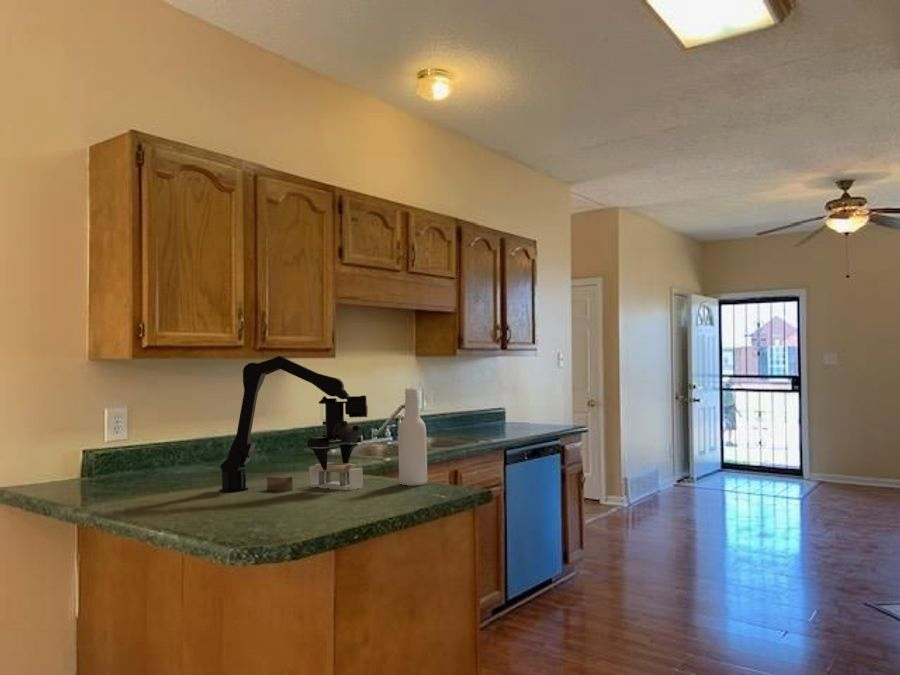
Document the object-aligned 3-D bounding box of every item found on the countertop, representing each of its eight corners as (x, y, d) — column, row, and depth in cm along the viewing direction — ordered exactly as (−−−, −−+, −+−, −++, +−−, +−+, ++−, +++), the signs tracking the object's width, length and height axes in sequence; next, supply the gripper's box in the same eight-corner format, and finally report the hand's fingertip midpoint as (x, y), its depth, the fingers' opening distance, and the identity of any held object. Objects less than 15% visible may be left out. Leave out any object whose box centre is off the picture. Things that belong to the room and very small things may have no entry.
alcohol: (395, 483, 219) (393, 388, 221) (420, 481, 223) (418, 388, 225) (406, 487, 211) (404, 388, 213) (432, 484, 215) (429, 388, 217)
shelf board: (343, 472, 210) (343, 466, 210) (314, 471, 216) (314, 464, 217) (356, 470, 215) (356, 464, 215) (328, 468, 221) (328, 462, 222)
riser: (285, 491, 209) (284, 478, 209) (267, 489, 213) (267, 476, 213) (292, 490, 211) (292, 476, 211) (274, 488, 216) (274, 475, 216)
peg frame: (349, 490, 207) (349, 470, 208) (307, 486, 217) (306, 467, 218) (365, 487, 213) (364, 467, 214) (322, 483, 223) (322, 464, 224)
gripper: (332, 420, 204) (333, 473, 203) (373, 416, 220) (374, 466, 219) (305, 419, 211) (306, 471, 210) (347, 416, 226) (348, 464, 225)
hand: (335, 468), depth 216 cm, fingers open, 9 cm apart
